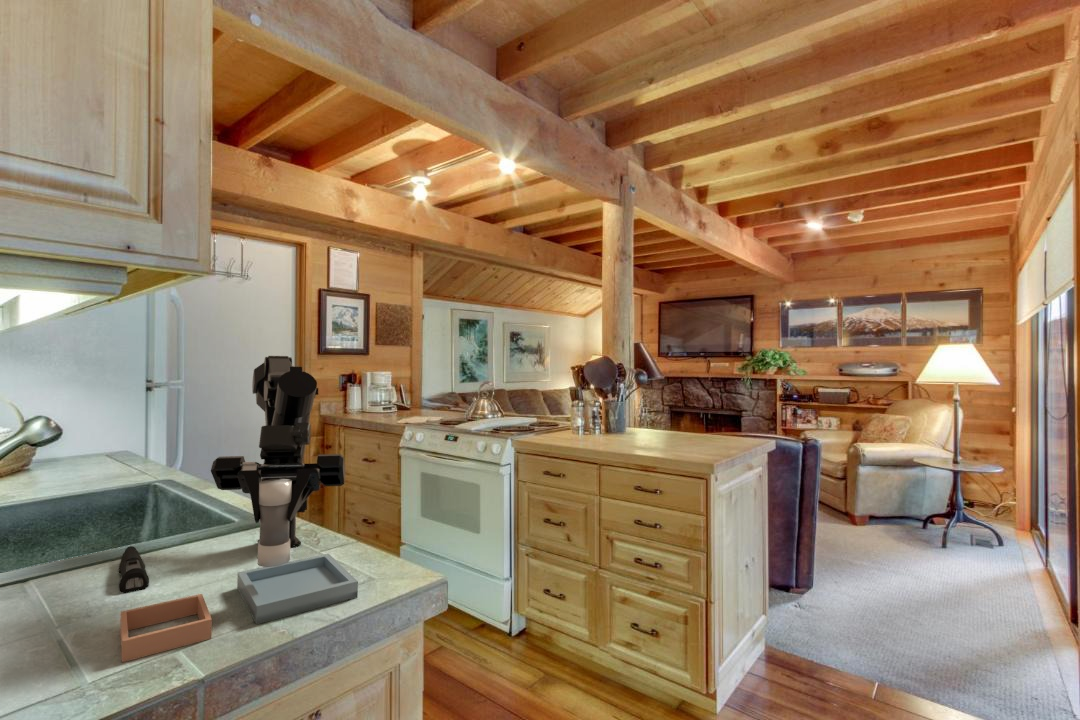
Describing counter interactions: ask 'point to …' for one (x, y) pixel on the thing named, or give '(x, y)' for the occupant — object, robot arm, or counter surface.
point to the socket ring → (168, 636)
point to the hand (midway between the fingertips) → (272, 520)
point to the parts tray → (295, 587)
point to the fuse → (274, 522)
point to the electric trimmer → (132, 572)
